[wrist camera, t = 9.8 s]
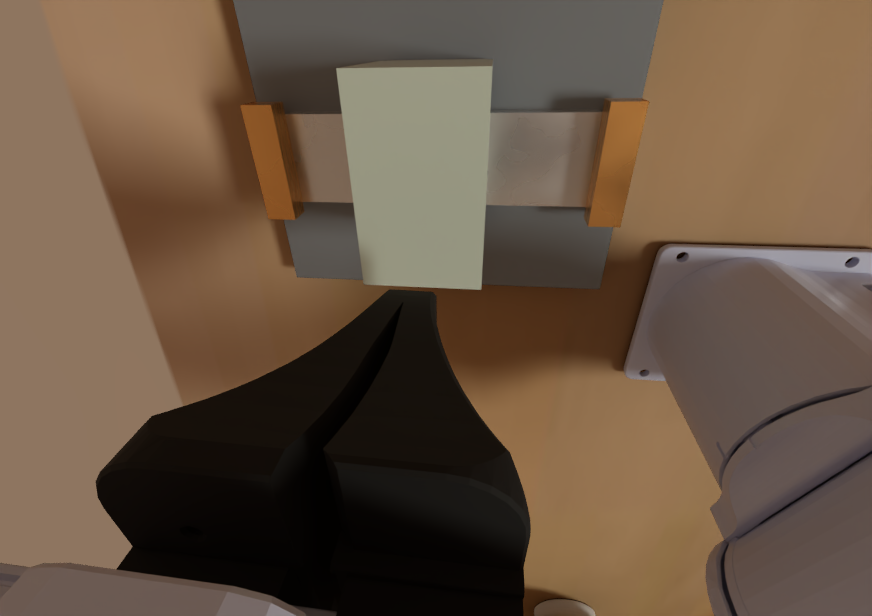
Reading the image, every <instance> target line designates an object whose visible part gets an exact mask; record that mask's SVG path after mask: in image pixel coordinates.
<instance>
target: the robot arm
mask: <svg viewBox="0 0 872 616" xmlns="http://www.w3.org/2000/svg"><path fill="white" fill-rule="evenodd" d="M681 252H686V254H685V255H684V257H682V258H680V259H676V257H677V255H678V254H680V253H681ZM852 257H853V259H852V260H851V261H850V262H848V263H845V262H846V261H847V260H848V259H850V258H852ZM642 370H646V371H644V372H640V371H642ZM623 371H624V373H625V375H626V377H628V378H630V379H641V380H657V381H666V382H667V384H668V386H669V388H670V390H671V392H672V394H673V396H674V398H675V400H676V402H677V404H678V406H679V408H680V410H681V412H682V414H683V415H684V417H685V419H686V421H687V423H688V425H689V427H690V429H691V431H692V433H693V435H694V437H695V439H696V441H697V443H698V445H699V447H700V449H701V451H702V453H703V455H704V457H705V459H706V461H707V463H708V465H709V467H710V469H711V471H712V473H713V475H714V477H715V479H716V481H717V483H718V485H719V487H720V489H721V491H722V494H721V496H720V498H719V500H718V501H717V502H716V503H715V504H714V505H712V506H711V508H710V510H711V512H712V514H713V516H714V519H715V521H716V523H717V525H718V527H719V529H720V532H721V534H722V536H723V538H724V541H722V542H720V543H719V544H717V545H716V546H715V547H714V548H713V550H712V551H711V553H710V554H709V557H708V560H707V564H706V584H707V592H708V596H709V600H710V603H711V607H712V610H713V613H714V616H872V249H846V248H809V247H773V246H736V245H699V244H667V245H664V246H662V247H661V248H660V249H659V251H658V253H657V255H656V259H655V262H654V265H653V269H652V272H651V276H650V279H649V283H648V286H647V289H646V293H645V296H644V300H643V303H642V307H641V310H640V313H639V317H638V320H637V324H636V327H635V330H634V334H633V337H632V341H631V344H630V348H629V351H628V354H627V358H626V361H625V365H624V370H623ZM96 487H97V494H98V498H99V500H100V502H101V504H102V505H103V507H104V509H105V510H106V512H107V513H108V514H109V515H110V517H111V518H112V520H113V521H114V522H115V524H116V525H117V526H118V527H119V529H120V530H121V531H122V533H123V534H124V535H125V537H126V538H127V539H128V541H129V542H130V543H131V545H132V546H133V547H132V549H131V550H130V551H129V553H128V554H127V555H126V557H125V558H124V560H123V561H122V562H121V564H120V565H119V567H118V568H117V569H116V570H115V569H108V568H102V567H94V566H88V565H81V564H73V563H43V564H40V565H36V566H33V567H25V566H18V565H10V564H4V563H0V616H523V598H524V570H523V567H524V562H525V557H526V553H527V548H528V544H529V539H530V530H531V528H530V517H529V512H528V507H527V502H526V498H525V495H524V491H523V488H522V485H521V482H520V479H519V476H518V473H517V470H516V468H515V465H514V462H513V460H512V457H511V454H510V452H509V451H508V450H507V449H506V448H505V447H504V446H503V444H502V443H501V442H500V441H499V440H498V439H497V438H496V436H495V435H494V434H493V433H492V432H491V430H490V429H489V428H488V427H487V425H486V424H485V423H484V421H483V420H482V419H481V417H480V416H479V415H478V413H477V412H476V410H475V409H474V407H473V406H472V404H471V402H470V401H469V399H468V398H467V396H466V395H465V393H464V391H463V390H462V388H461V386H460V384H459V382H458V381H457V379H456V377H455V375H454V373H453V370H452V368H451V366H450V364H449V362H448V359H447V357H446V354H445V351H444V348H443V346H442V343H441V339H440V336H439V332H438V328H437V311H436V295H435V294H434V293H433V292H424V291H407V290H388V291H387V292H386V293H385V294H384V295H382V296H381V297H380V298H379V299H378V300H377V301H375V302H374V303H373V304H372V305H371V306H370V307H368V308H367V309H366V310H365V311H364V312H363V313H361V314H360V315H359V316H358V317H357V318H355V319H354V320H353V321H352V322H350V323H349V324H348V325H346V326H345V327H344V328H342V329H341V330H340V331H338V332H337V333H336V334H334V335H333V336H331V337H330V338H329V339H327V340H326V341H325V342H323V343H322V344H320V345H319V346H317V347H315V348H314V349H312V350H311V351H309V352H307V353H306V354H304V355H302V356H300V357H299V358H297V359H295V360H294V361H292V362H290V363H288V364H286V365H284V366H282V367H280V368H278V369H276V370H274V371H272V372H270V373H268V374H266V375H264V376H262V377H260V378H258V379H255V380H253V381H251V382H248V383H246V384H244V385H241V386H239V387H237V388H234V389H231V390H229V391H226V392H224V393H221V394H219V395H216V396H213V397H210V398H208V399H205V400H202V401H199V402H196V403H192V404H189V405H186V406H183V407H180V408H177V409H174V410H170V411H168V412H164V413H161V414H157V415H154V416H152V417H151V418H150V419H149V420H148V421H147V422H146V423H145V424H144V425H143V426H142V427H141V428H140V429H139V430H138V431H137V433H136V434H135V435H134V436H133V437H132V438H131V439H130V440H129V441H128V442H127V443H126V444H125V446H124V447H123V448H122V449H121V450H120V451H119V452H118V453H117V454H116V455H115V457H113V459H112V460H111V461H110V462H109V463H108V464H107V465H106V466H105V467H104V468H103V469H102V471H101V472H100V474H99V475H98V478H97V480H96Z"/></svg>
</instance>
